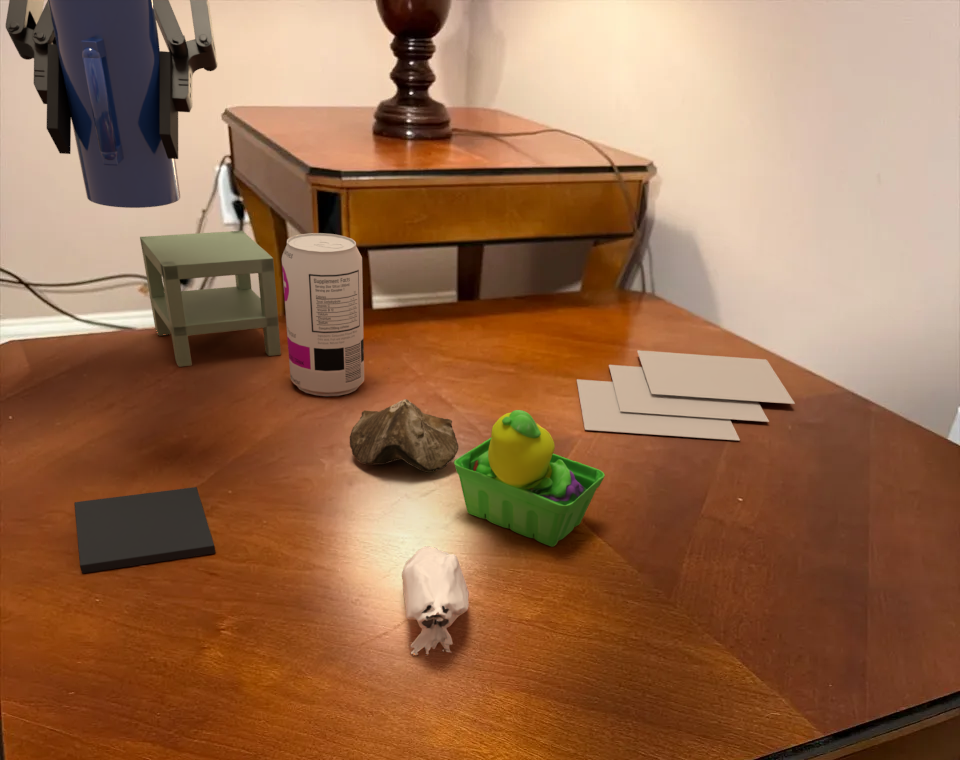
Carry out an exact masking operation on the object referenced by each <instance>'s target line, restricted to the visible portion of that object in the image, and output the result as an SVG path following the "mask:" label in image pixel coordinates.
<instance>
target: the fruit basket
mask: <svg viewBox="0 0 960 760" xmlns="http://www.w3.org/2000/svg"><path fill="white" fill-rule="evenodd" d="M490 433H491V434H490V436H491V437H489V438H488V439H487V440H485V441H483V442H481V443H480V444H478V445H477V446H475V447H474V448H472V449H470V450H468V451H467V452H465V453H464V454H462V455H461V456H459V457H458V458H456V459H455V460H454V461H453V464H454V467H455V471H456V473H457V474H458V477H459V482H460V486H461V490H462V495H463V499H464V504H465V508H466V512H467V514H469V515H472V516H474V517H477V518H479V519H483V520H487V521H488V522H489V523H491V524H494V525H497V526H499V527H501V528H504V529H510V530H511V531H512V532H514V533H516V534H518V535H520V536H523V537H526V538H530V539H534V540H535V541H537V542H538V543H541V544H543V545H545V546H549V547H550V548H553V547H555V546H556V545H557V544H558V542H559V541H561V540H563V539H564V538H566V537H567V536H568V535H569V534H570V533H572V531H573V530H574V528H576V527H578V526H579V525H581V523H582V521H583V519H584V517H585V514H586V512H587V511H588V509H589V506H590V505H591V502H592V500H593V497H594V495H595V493H596V491H597V489H598V488H600V486H601V484H602V482H603V480H604V478H605V477H606V476H605V473H604V471H603V470H601V469H599V468H597V467H593V466H590V465H587V464H584V463H582V462H579V461H575V460H572V459H570V458H567V457H564V456H561V455H559V454H556V453H554V451H555V447H556V446H555V440H554V439H553V437H552V435H551V433H550V432H549V431H548V430H547V429H546V428H544V427H542V426H541V425H540V424H539V423H538V422H536V421H535V419H534V418H533V417H532V415H531V414H530V413H529V412H527V411H525V410H522V409H515V410H512V411H511V412H507V413H505V414H503V415H502V416H500V417H499V418H498V419H496V421H495V422H494V424H493V425H492V428H491V432H490Z"/></svg>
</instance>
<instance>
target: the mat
mask: <svg viewBox="0 0 960 760" xmlns="http://www.w3.org/2000/svg"><path fill="white" fill-rule="evenodd" d="M73 504H74V515H75V526H76V536H77V548H78V558H79V568H80V571H81V573H82V574H88V573H94V572H102V571H108V570H115V569H121V568H128V567H134V566H140V565H141V566H142V565H149V564H154V563H160V562H167V561H168V562H169V561H175V560H180V559H188V558H193V557H200V556H207V555H213V554H216V546H215V543H214V539H213V536H212V533H211V530H210V527H209V526H210V525H209V523H208V520H207V517H206V513H205V510H204V507H203V503H202V499H201V497H200V494H199V490H198V487H197V486H193V487H185V488H179V489H178V488H176V489H170V490H161V491H160V490H159V491H153V492H146V493H145V492H143V493H137V494H127V495H122V496H121V495H120V496H114V497H113V496H112V497H104V498H96V499H89V500H80V501H74V503H73Z"/></svg>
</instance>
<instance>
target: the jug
mask: <svg viewBox="0 0 960 760" xmlns="http://www.w3.org/2000/svg"><path fill="white" fill-rule="evenodd" d="M47 1H48V4H49V9H50V14H51V19H52V24H53V29H54V34H55V40H56V45H57V50H58V55H59V60H60V65H61V70H62V75H63V80H64V85H65V90H66V95H67V100H68V105H69V110H70V115H71V126H72V129H73V134H74V140H75V144H76V151H77V154H78V159H79V164H80V170H81V174H82V179H83V185H84V189H85V194H86V198H87V200H88V201H89V202H91V203H94V204H97V205H101V206H107V207H113V208H123V209H124V208H125V209H139V208H140V209H142V208H143V209H144V208H145V209H146V208H155V207H162V206H167V205H171V204H174V203H176V202H178V201H180V199H181V192H180V185H179V177H178V169H177V163H176V159H168V157H167V154H166V151H165V148H164V146H163V143H162V140H161V137H160V51H161V47H160V40H159V33H158V32H159V31H158V23H157V21H156V17H155V10H154V2H153V0H47Z"/></svg>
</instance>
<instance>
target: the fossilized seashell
mask: <svg viewBox="0 0 960 760" xmlns="http://www.w3.org/2000/svg"><path fill="white" fill-rule="evenodd" d="M452 425H453V420H452V419H449V418H443V417H438V416H436V415H432V414H428V413H424V412H423V411H422V410H421V409H420V408H419V407H418V406H417V405H416V404H414V403H413V402H411V401H410V400H409V399H407V398H404V399H402V400H399V401H398V402H395V403H394V404H391V405H390V406H388V407H386V408H383V409H381V410H379V411H377V410H363V411H361V416H360V417H359V420H358V421H357V422H356V423H355V425H354V426H352V429H351V431H350V434H349V446H350V449H351V453H352V455H353V456H354V459H355V460H356V461H358V463H360V464H362V465H367V466H368V465H370V466H371V465H384V464H388V463H390V462H395V461H397V460H403V461H404V462H405V463H407V464H409V465H410V466H413V467H414V468H416V469H418V470H419V471H421V472H424V473H434V472H437V471H439V470H442V469H444V468H445V467H447V465H448V464H449V463H450V462H451V461H452V460H454V458H456V456H457V454H458V451H459V443H458V439H457V437H456V433H455V431H454V429H453V426H452Z"/></svg>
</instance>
